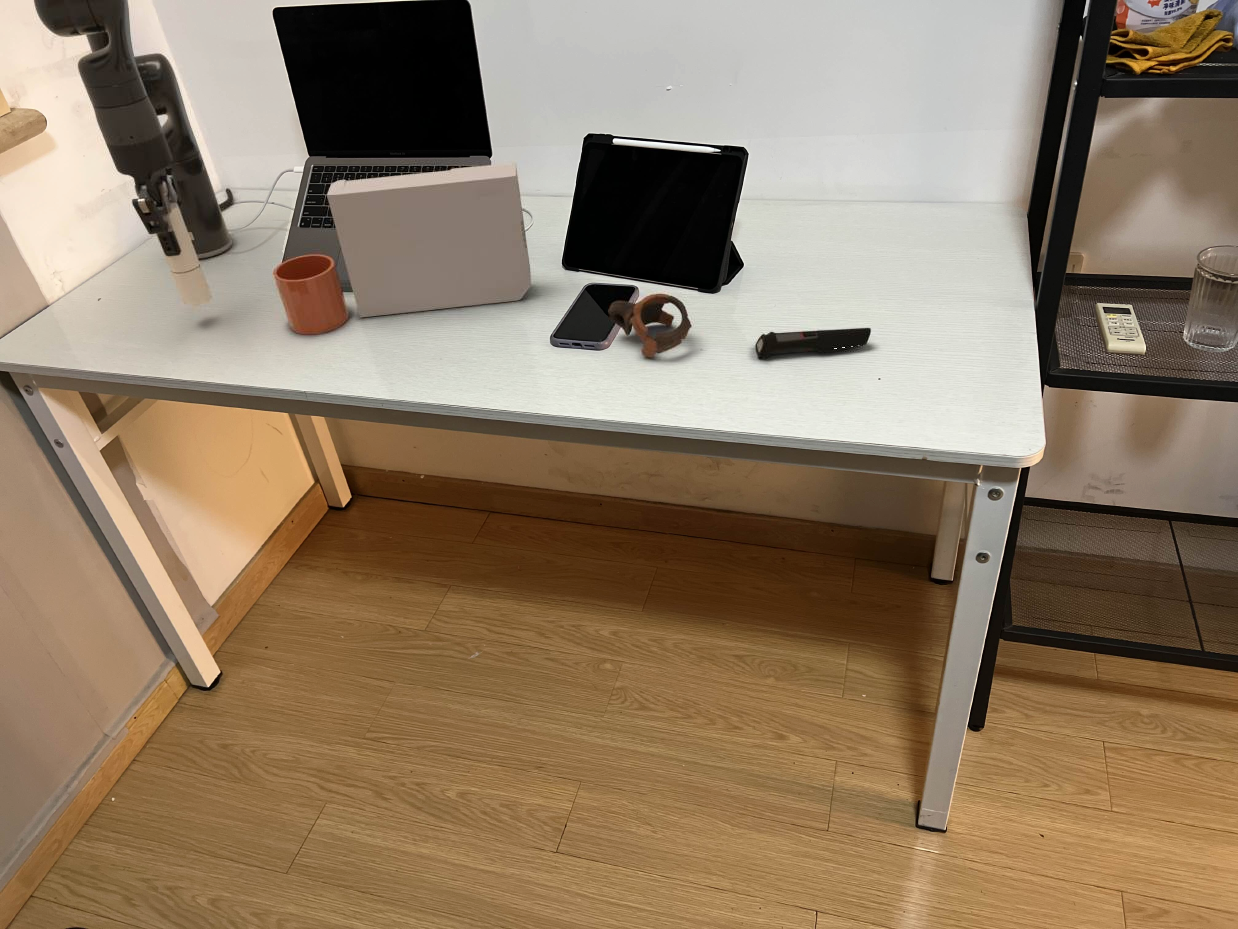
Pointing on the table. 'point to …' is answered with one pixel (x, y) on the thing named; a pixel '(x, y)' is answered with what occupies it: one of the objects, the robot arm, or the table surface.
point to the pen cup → (311, 294)
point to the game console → (433, 239)
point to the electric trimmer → (811, 341)
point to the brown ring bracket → (651, 321)
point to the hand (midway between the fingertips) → (177, 247)
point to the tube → (186, 264)
